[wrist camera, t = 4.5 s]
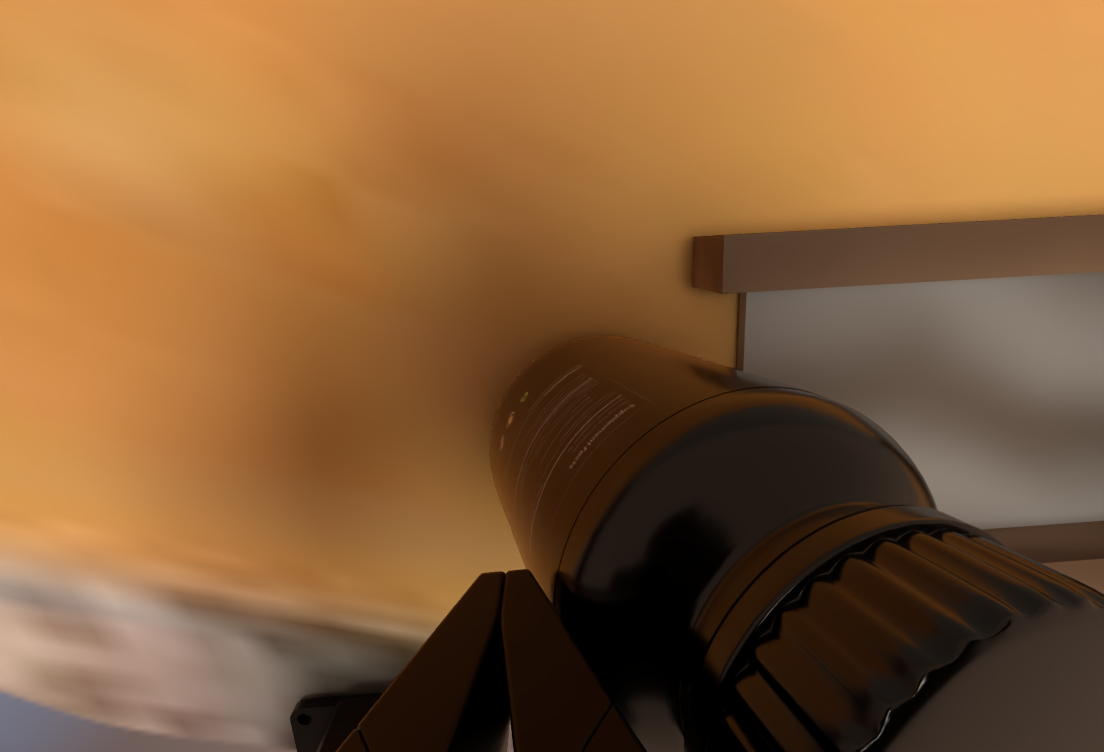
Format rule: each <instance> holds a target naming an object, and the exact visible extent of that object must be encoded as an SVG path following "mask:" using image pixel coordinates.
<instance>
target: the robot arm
mask: <svg viewBox="0 0 1104 752" xmlns="http://www.w3.org/2000/svg"><path fill="white" fill-rule="evenodd" d="M305 714H307V715H305ZM290 721H291V726H292V730H293V735H294V739H295V744H296V748H297V752H507V746H508V737H509V726H510V721H511V730H512V739H513V748H514V752H647V750H646V749H645V747H644V746H643V745H642V743H641V742H640V740H639V739H638V737H637V736H636V734H635V733H634V732H633V730H632V729H631V727H630V726H629V724H628V722H627V721H626V719H625V718H624V716H623V715H622V713H621V711H620V710H619V708H618V707H617V706H615V704H614V701H613V699H612V698H611V696H610V695H609V693H608V692H607V690H606V688H605V687H604V685H603V684H602V682H601V681H600V679H599V677H598V676H597V674H596V673H595V671H594V670H593V668H592V666H591V665H590V663H589V662H588V660H587V659H586V657H585V655H584V654H583V652H582V651H581V649H580V648H579V646H578V644H577V643H576V641H575V640H574V638H573V637H572V635H571V633H570V632H569V630H568V629H567V627H566V626H565V624H564V622H563V621H562V619H561V618H560V616H559V615H558V613H557V611H556V610H555V608H554V607H553V605H552V604H551V602H550V600H549V599H548V597H547V596H546V594H545V593H544V591H543V589H542V588H541V586H540V585H539V583H538V582H537V580H536V578H535V577H534V575H533V574H532V572H531V571H530V570H528V569H524V570H512V571H508V572H507V573H506V574H505V573H504V572H489V573H482V574H481V575H479V577H478V578H477V579H476V580H475V581H474V583H473V584H472V585H471V586H470V588H469V589H468V590H467V591H466V593H465V594H464V595H463V596H462V597H461V599H460V600H459V601H458V602H457V604H456V605H455V606H454V607H453V609H452V610H451V611H450V612H449V613H448V615H447V616H446V617H445V618H444V620H443V621H442V622H441V623H440V625H439V626H438V627H437V628H436V629H435V631H434V632H433V633H432V634H431V636H430V637H429V638H428V639H427V641H426V642H425V643H424V644H423V645H422V647H421V648H420V649H419V650H418V652H417V653H416V654H415V655H414V657H413V658H412V659H411V660H410V661H409V663H408V664H407V665H406V666H405V668H404V669H403V670H402V671H401V673H400V674H399V675H398V676H397V677H396V679H395V680H394V681H393V682H392V684H391V685H390V686H389V687H388V689H387V690H386V691H385V692H384V693H376V694H363V695H351V696H338V697H325V698H313V699H305V700H301V701H300V702H298V703H297V705H296V707H295V708H294V710H293V712H292V714H291V716H290Z"/></svg>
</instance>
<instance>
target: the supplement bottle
mask: <svg viewBox="0 0 1104 752" xmlns="http://www.w3.org/2000/svg"><path fill="white" fill-rule="evenodd" d="M490 461H491V469H492V474H493V479H494V482H495V486H496V489H497V492H498V495H499V498H500V501H501V504H502V506H503V509H504V512H505V514H506V517H507V520H508V522H509V525H510V527H511V530H512V533H513V535H514V538H515V541H516V543H517V546H518V549H519V551H520V554H521V557H522V559H523V562H524V564H525V567H526V569H528V570H530V571H531V572H532V574H533V575H534V577H535V578H536V580H537V582H538V583H539V585H540V586H541V588H542V589H543V591H544V593H545V594H546V596H547V597H548V599H549V600H550V602H551V604H552V605H553V607H554V608H555V610H556V611H557V613H558V615H559V616H560V618H561V619H562V621H563V622H564V624H565V626H566V627H567V629H568V630H569V632H570V633H571V635H572V637H573V638H574V640H575V641H576V643H577V644H578V646H579V648H580V649H581V651H582V652H583V654H584V655H585V657H586V659H587V660H588V662H589V663H590V665H591V666H592V668H593V670H594V671H595V673H596V674H597V676H598V677H599V679H600V681H601V682H602V684H603V685H604V687H605V688H606V690H607V692H608V693H609V695H610V696H611V698H612V699H613V701H614V704H615V706H617V707H618V708H619V710H620V711H621V713H622V715H623V716H624V718H625V719H626V721H627V722H628V724H629V726H630V727H631V729H632V730H633V732H634V733H635V734H636V736H637V737H638V739H639V740H640V742H641V743H642V745H643V746H644V747H645V749H646V750H647V752H1104V594H1102V593H1100V592H1099V591H1097V590H1095V589H1093V588H1092V587H1090V586H1088V585H1086V584H1084V583H1082V582H1079V581H1077V580H1075V579H1073V578H1071V577H1069V576H1067V575H1065V574H1062V573H1060V572H1058V571H1056V570H1054V569H1052V568H1050V567H1047V566H1045V565H1043V564H1041V563H1039V562H1037V561H1034V560H1032V559H1030V558H1028V557H1026V556H1024V555H1021V554H1019V553H1017V552H1015V551H1013V550H1011V549H1008V548H1007V547H1006V546H1005V545H1004V544H1003V543H1001V542H1000V541H999V540H998V539H996V538H995V537H993V536H992V535H990V534H989V533H987V532H985V531H983V530H981V529H979V528H977V527H975V526H972V525H970V524H968V523H966V522H963V521H961V520H959V519H957V518H955V517H953V516H950V515H948V514H946V513H943V512H941V511H938V509H937V506H936V503H935V500H934V498H933V495H932V493H931V491H930V489H929V487H928V485H927V483H926V481H925V479H924V478H923V476H922V474H921V473H920V471H919V470H918V468H917V467H916V465H915V464H914V462H913V461H912V459H911V458H910V457H909V456H908V454H907V453H906V452H905V451H904V450H903V449H902V447H901V446H900V445H899V444H898V443H897V442H896V440H895V439H893V438H892V437H891V436H890V435H889V434H888V433H887V432H886V431H885V430H884V429H883V428H881V427H880V426H879V425H878V424H876V423H875V422H873V421H872V420H871V419H869V418H868V417H866V416H865V415H863V414H862V413H860V412H858V411H856V410H854V409H852V408H850V407H848V406H846V405H844V404H841V403H839V402H836V401H834V400H831V399H828V398H826V397H823V396H820V395H818V394H815V393H812V392H809V391H806V390H803V389H800V388H796V387H793V386H790V385H786V384H783V383H780V382H776V381H773V380H770V379H766V378H763V377H760V376H756V375H753V374H750V373H746V372H743V371H740V370H737V369H733V368H730V367H727V366H723V365H720V364H717V363H713V362H710V361H707V360H703V359H700V358H697V357H693V356H690V355H687V354H683V353H680V352H677V351H673V350H670V349H667V348H663V347H660V346H657V345H653V344H650V343H647V342H642V341H638V340H635V339H630V338H626V337H620V336H608V335H599V336H588V337H583V338H578V339H575V340H572V341H568V342H566V343H563V344H561V345H559V346H557V347H555V348H553V349H551V350H549V351H547V352H546V353H544V354H543V355H541V356H540V357H538V358H537V359H536V360H535V361H533V362H532V363H531V364H530V365H529V366H528V367H527V368H526V369H525V370H523V371H522V373H521V374H520V375H519V376H518V377H517V378H516V380H515V381H514V382H513V384H512V385H511V386H510V388H509V389H508V391H507V393H506V394H505V396H504V398H503V400H502V402H501V404H500V406H499V408H498V411H497V414H496V417H495V420H494V423H493V428H492V432H491V440H490Z"/></svg>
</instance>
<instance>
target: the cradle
mask: <svg viewBox="0 0 1104 752" xmlns="http://www.w3.org/2000/svg"><path fill="white" fill-rule="evenodd" d="M693 287H696V288H700V289H705V290H709V291H713V292H717V293H721V294H727V293H740V304H739V330H738V356H737V370H740V371H743V372H746V373H750V374H753V375H756V376H760V377H763V378H766V379H770V380H773V381H776V382H780V383H783V384H786V385H790V386H793V387H796V388H800V389H803V390H806V391H809V392H812V393H815V394H818V395H820V396H823V397H826V398H828V399H831V400H834V401H836V402H839V403H841V404H844V405H846V406H848V407H850V408H852V409H854V410H856V411H858V412H860V413H862V414H863V415H865V416H866V417H868V418H869V419H871V420H872V421H873V422H875V423H876V424H878V425H879V426H880V427H881V428H883V429H884V430H885V431H886V432H887V433H888V434H889V435H890V436H891V437H892V438H893V439H895V440H896V442H897V443H898V444H899V445H900V446H901V447H902V449H903V450H904V451H905V452H906V453H907V454H908V456H909V457H910V458H911V459H912V461H913V462H914V464H915V465H916V467H917V468H918V470H919V471H920V473H921V474H922V476H923V478H924V479H925V481H926V483H927V485H928V487H929V489H930V491H931V493H932V495H933V498H934V500H935V503H936V506H937V509H938V511H941V512H943V513H946V514H948V515H950V516H953V517H955V518H957V519H959V520H961V521H963V522H966V523H968V524H970V525H972V526H975V527H977V528H979V529H981V530H983V531H985V532H987V533H989V534H990V535H992V536H993V537H995V538H996V539H998V540H999V541H1000V542H1001V543H1003V544H1004V545H1005V546H1006V547H1007V548H1008V549H1011V550H1013V551H1015V552H1017V553H1019V554H1021V555H1024V556H1026V557H1028V558H1030V559H1032V560H1034V561H1037V562H1039V563H1041V564H1043V565H1045V566H1047V567H1050V568H1052V569H1054V570H1056V571H1058V572H1060V573H1062V574H1065V575H1067V576H1069V577H1071V578H1073V579H1075V580H1077V581H1079V582H1082V583H1084V584H1086V585H1088V586H1090V587H1092V588H1093V589H1095V590H1097V591H1099V592H1100V593H1102V594H1104V215H1086V216H1068V217H1049V218H1031V219H1012V220H994V221H975V222H957V223H938V224H920V225H901V226H883V227H864V228H846V229H827V230H809V231H790V232H772V233H753V234H734V235H717V236H701V237H694V247H693Z"/></svg>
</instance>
